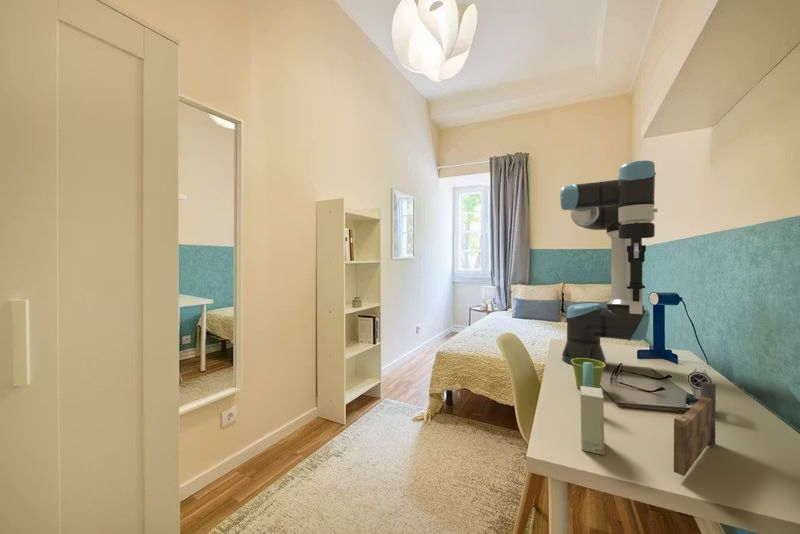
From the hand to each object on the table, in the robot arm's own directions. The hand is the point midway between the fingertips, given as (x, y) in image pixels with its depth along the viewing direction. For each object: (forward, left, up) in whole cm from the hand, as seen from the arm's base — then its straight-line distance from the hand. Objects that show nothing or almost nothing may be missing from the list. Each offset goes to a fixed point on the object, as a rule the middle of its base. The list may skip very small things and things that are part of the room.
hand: (635, 313), depth 84 cm
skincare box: (+23, -5, -27) cm, 36 cm away
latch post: (+5, -10, -27) cm, 29 cm away
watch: (-15, +13, -27) cm, 33 cm away
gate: (+15, +12, -27) cm, 33 cm away
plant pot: (-11, -13, -27) cm, 32 cm away
